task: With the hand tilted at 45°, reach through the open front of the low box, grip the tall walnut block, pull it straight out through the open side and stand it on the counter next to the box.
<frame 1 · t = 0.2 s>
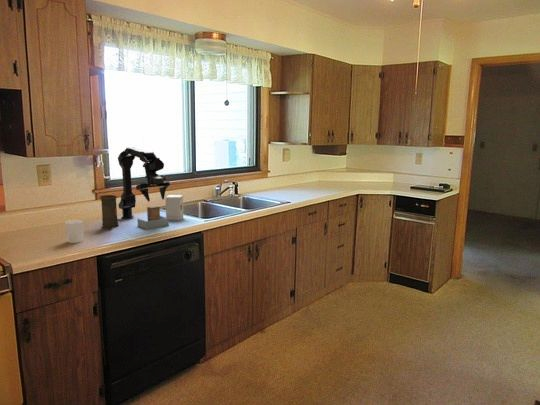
hand: (156, 200, 229), 15 cm above the worktop, tool tilted 15°, fingers open, 9 cm apart
white cup: (75, 241, 200), on the worktop
open box: (154, 227, 230), on the worktop
container: (110, 228, 228), on the worktop
supplement box: (175, 220, 249), on the worktop
walnut block: (154, 225, 230), point 1 cm above the worktop, touching open box
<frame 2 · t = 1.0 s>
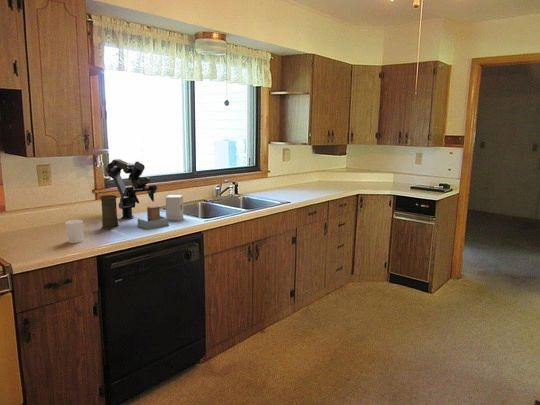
hand: (146, 202, 233), 13 cm above the worktop, tool tilted 45°, fingers open, 9 cm apart
nothing on the worktop moved.
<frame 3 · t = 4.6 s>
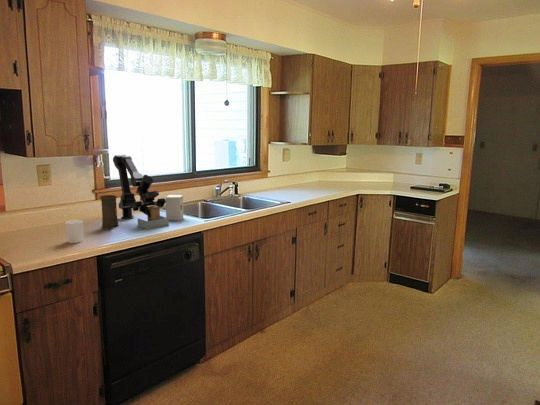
hand: (154, 216, 228), 7 cm above the worktop, tool tilted 45°, fingers closed on walnut block, 5 cm apart
walnut block: (154, 225, 230), point 1 cm above the worktop, touching gripper, open box
everything else where it was.
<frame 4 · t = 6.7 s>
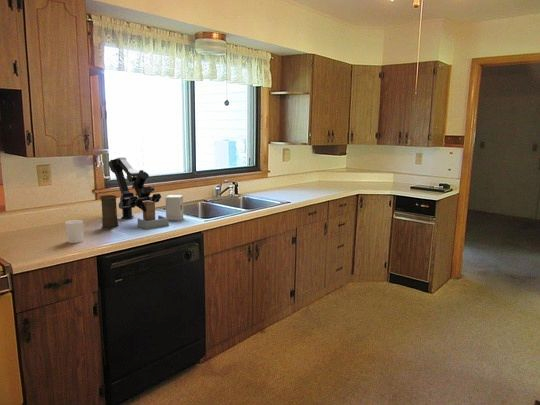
hand: (150, 211, 231), 9 cm above the worktop, tool tilted 45°, fingers closed on walnut block, 5 cm apart
walnut block: (149, 220, 233), point 3 cm above the worktop, touching gripper
everything else where it was.
when the fingers open (7 cm above the worktop, at t = 9.0 s): walnut block drops 1 cm, on the worktop.
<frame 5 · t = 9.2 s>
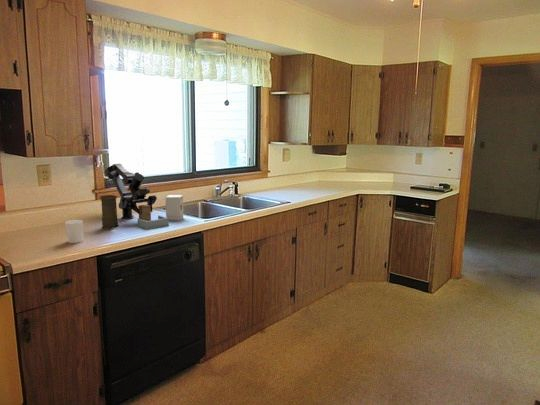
hand: (145, 212, 235), 7 cm above the worktop, tool tilted 45°, fingers open, 7 cm apart
walnut block: (145, 224, 237), on the worktop
everything else where it was.
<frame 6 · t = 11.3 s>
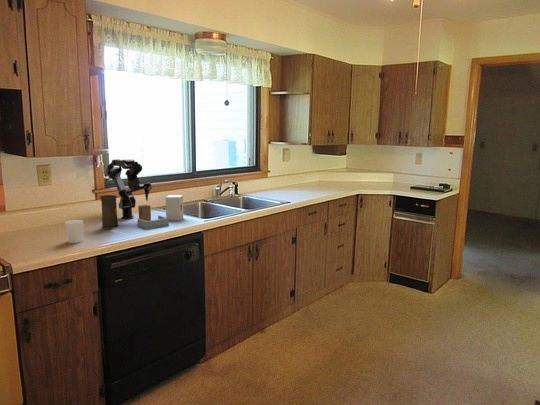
hand: (139, 203, 238), 12 cm above the worktop, tool tilted 30°, fingers open, 9 cm apart
nothing on the worktop moved.
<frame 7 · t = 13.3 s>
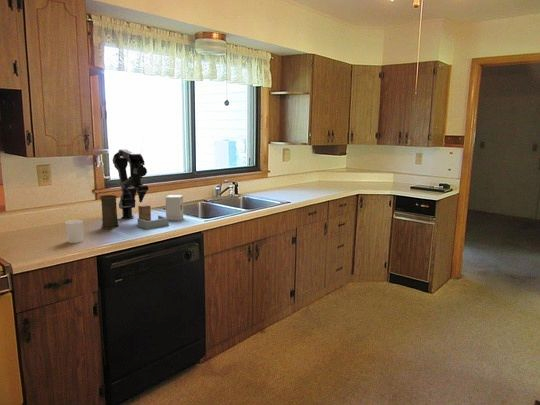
hand: (136, 201, 238), 13 cm above the worktop, tool pointing down, fingers open, 9 cm apart
nothing on the worktop moved.
at the end: walnut block 0.7 cm from the target spot on the worktop beside the open box, on the worktop; walnut block tilted 0°; the gripper is holding nothing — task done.
